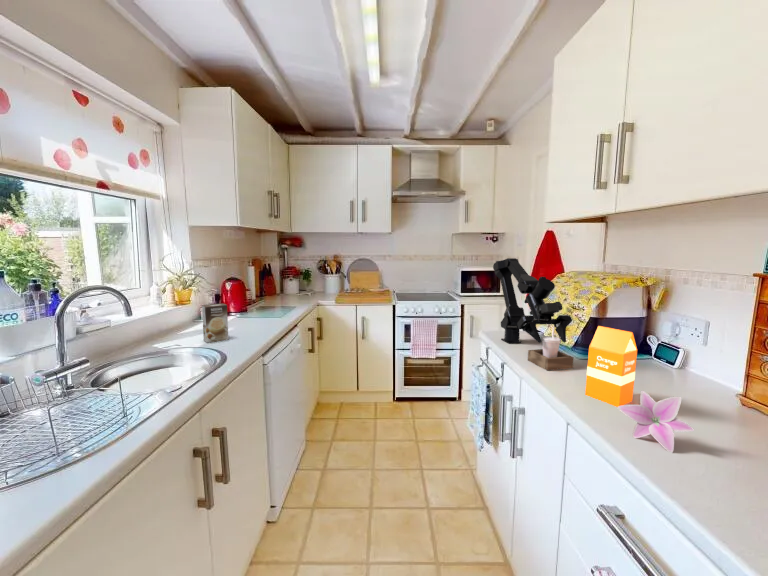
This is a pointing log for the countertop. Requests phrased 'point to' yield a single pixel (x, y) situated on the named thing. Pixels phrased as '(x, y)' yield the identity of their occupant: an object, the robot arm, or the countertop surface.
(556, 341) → the smoothie
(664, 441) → the lily
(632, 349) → the orange juice
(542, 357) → the brown wooden tray
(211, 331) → the coffee box
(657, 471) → the countertop surface
